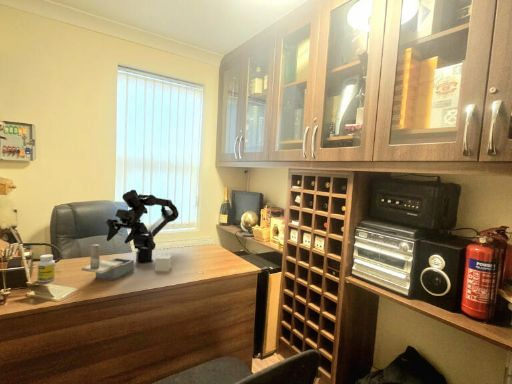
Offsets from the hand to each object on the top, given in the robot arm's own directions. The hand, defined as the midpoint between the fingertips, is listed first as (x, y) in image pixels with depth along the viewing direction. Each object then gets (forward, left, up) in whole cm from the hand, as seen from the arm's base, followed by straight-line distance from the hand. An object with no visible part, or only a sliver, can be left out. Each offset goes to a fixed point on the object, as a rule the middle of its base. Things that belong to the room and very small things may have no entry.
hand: (116, 241), depth 119 cm
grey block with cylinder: (+6, +5, -9) cm, 12 cm away
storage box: (0, +1, -14) cm, 14 cm away
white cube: (-19, +5, -14) cm, 25 cm away
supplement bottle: (+24, -6, -14) cm, 28 cm away
